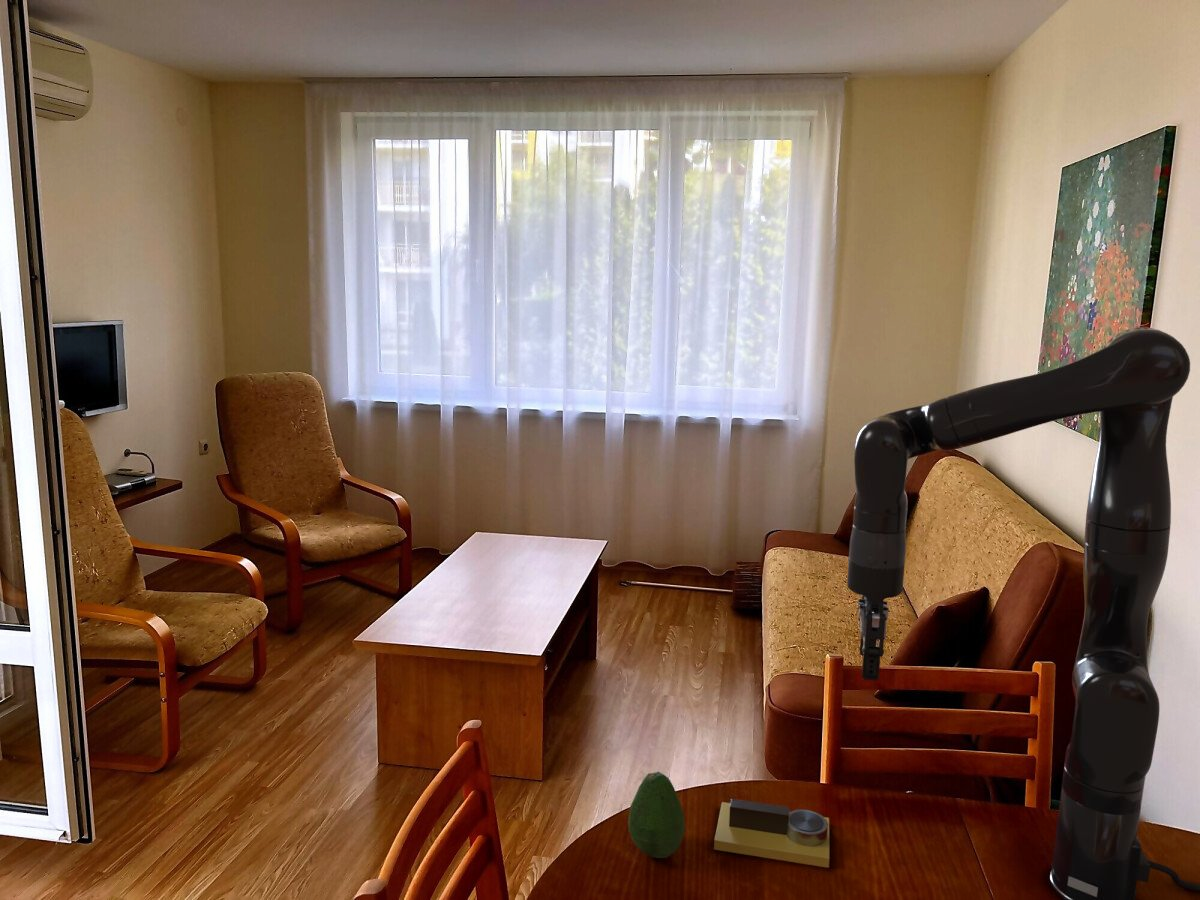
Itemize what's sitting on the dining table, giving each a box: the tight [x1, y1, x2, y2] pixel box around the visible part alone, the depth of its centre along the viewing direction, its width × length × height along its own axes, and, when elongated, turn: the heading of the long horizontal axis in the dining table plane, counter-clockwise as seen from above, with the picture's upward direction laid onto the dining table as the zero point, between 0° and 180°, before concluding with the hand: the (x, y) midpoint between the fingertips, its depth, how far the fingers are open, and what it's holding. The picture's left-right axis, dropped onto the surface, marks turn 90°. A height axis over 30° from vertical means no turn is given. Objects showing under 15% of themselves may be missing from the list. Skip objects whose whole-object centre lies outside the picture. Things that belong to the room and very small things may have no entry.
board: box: [713, 801, 830, 869], centre depth 133 cm, size 16×10×2 cm, turn 76°
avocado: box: [627, 771, 686, 859], centre depth 128 cm, size 8×8×12 cm
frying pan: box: [729, 798, 828, 846], centre depth 132 cm, size 14×6×3 cm, turn 76°
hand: (868, 666), depth 130 cm, fingers open, 8 cm apart
